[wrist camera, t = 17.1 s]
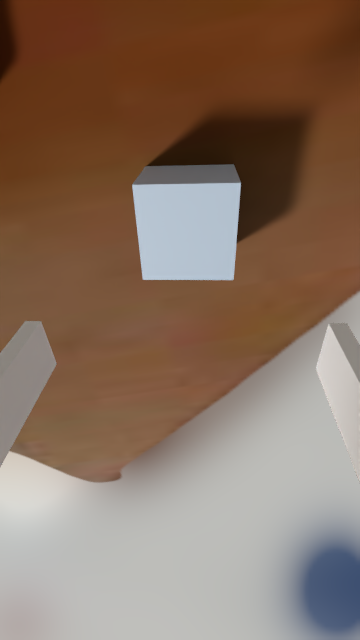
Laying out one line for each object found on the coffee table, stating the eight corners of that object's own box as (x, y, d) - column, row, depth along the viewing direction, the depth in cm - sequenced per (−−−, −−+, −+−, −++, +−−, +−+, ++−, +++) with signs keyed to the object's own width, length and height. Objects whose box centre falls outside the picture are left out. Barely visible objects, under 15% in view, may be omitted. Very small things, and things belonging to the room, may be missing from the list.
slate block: (153, 247, 34) (142, 279, 28) (146, 165, 29) (132, 184, 24) (228, 247, 33) (233, 279, 28) (233, 164, 29) (240, 182, 23)
